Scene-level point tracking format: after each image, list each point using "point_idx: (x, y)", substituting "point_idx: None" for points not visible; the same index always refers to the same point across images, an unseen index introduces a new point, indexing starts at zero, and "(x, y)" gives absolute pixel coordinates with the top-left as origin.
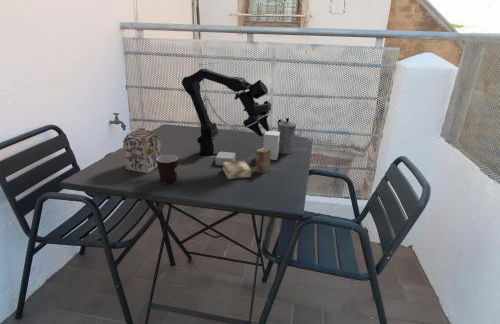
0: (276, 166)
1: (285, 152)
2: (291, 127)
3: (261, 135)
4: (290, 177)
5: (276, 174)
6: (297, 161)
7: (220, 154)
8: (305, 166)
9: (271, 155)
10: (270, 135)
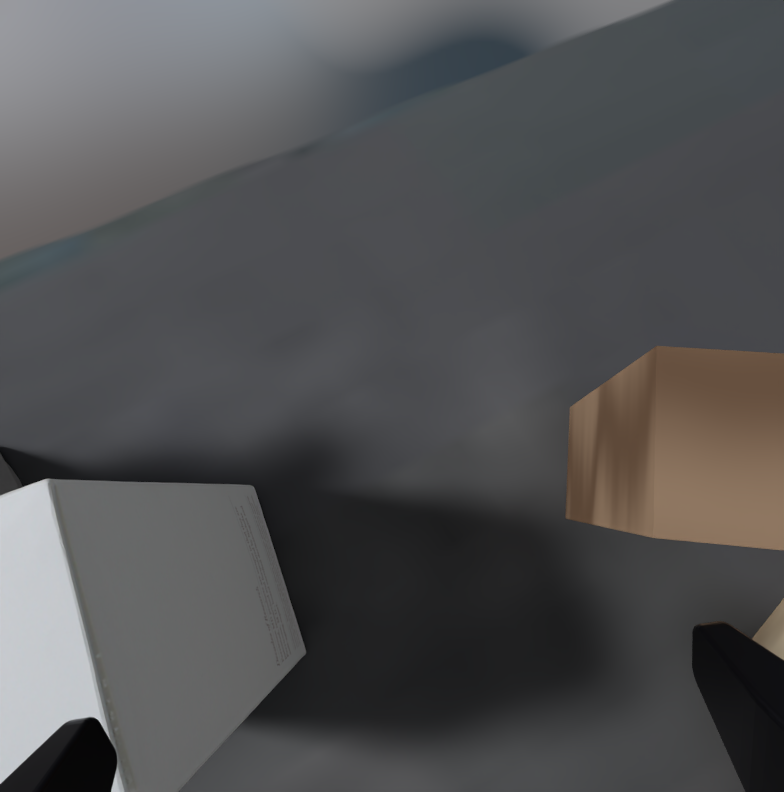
0: (423, 398)
1: (9, 491)
2: None
3: (748, 659)
4: (593, 155)
5: (619, 296)
6: (165, 283)
7: None
8: (248, 164)
9: (259, 550)
10: (101, 656)
